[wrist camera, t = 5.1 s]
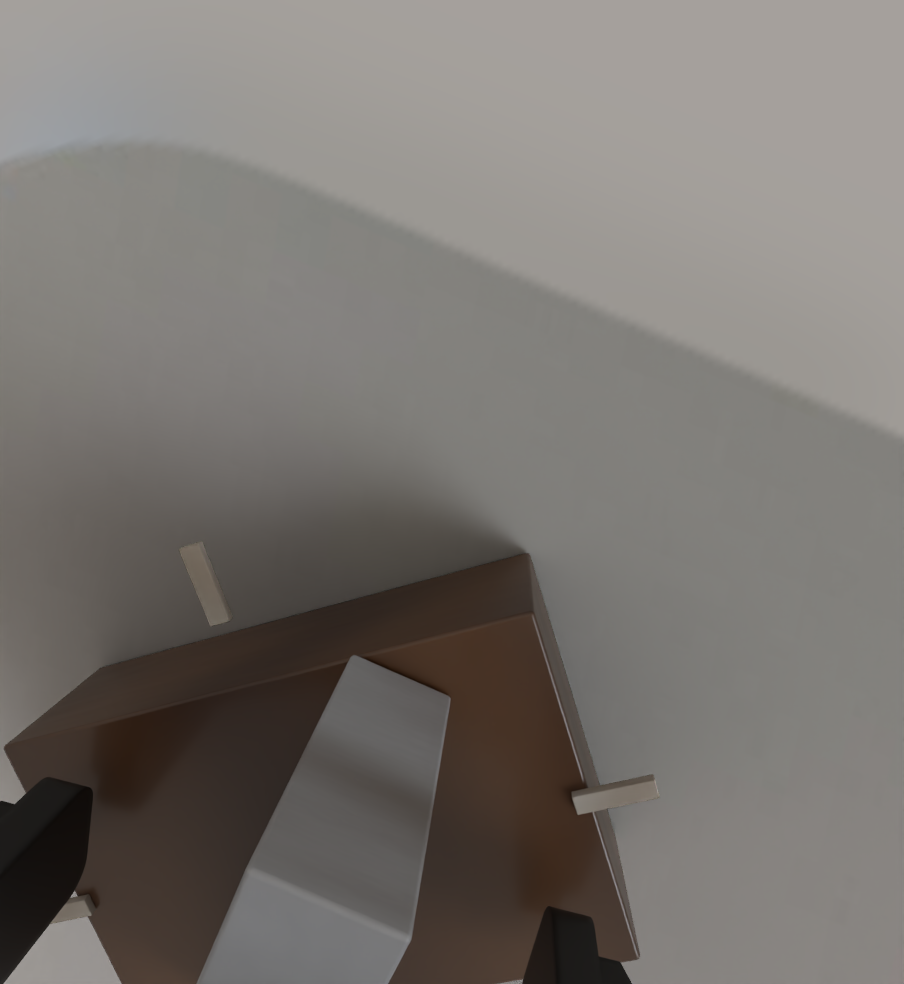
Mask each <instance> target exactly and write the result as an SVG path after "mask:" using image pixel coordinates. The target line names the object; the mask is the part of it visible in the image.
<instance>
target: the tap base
mask: <svg viewBox="0 0 904 984" xmlns="http://www.w3.org/2000/svg"><path fill="white" fill-rule="evenodd" d="M179 552H180V554H181V557H182V559H183V562H184V564H185V566H186V569H187V571H188V574H189V576H190V579H191V581H192V583H193V586H194V588H195V591H196V593H197V595H198V598H199V600H200V603H201V605H202V607H203V610H204V612H205V615H206V617H207V619H208V622H209V624H210V626H215V625H219V624H223V623H226V622H229V621H230V620H231V619H232V618H233V616H232V614H231V611H230V609H229V606H228V604H227V601H226V599H225V597H224V594H223V592H222V589H221V587H220V584H219V582H218V579H217V577H216V574H215V572H214V569H213V567H212V565H211V562H210V560H209V557H208V555H207V552H206V550H205V547H204V545H203V542H202V541H200V542H196V543H193V544H190V545H186V546H183V547H181V548H180V549H179ZM353 655H356V656H359V657H361V658H363V659H365V660H368V661H370V662H372V663H375V664H377V665H379V666H381V667H384V668H386V669H388V670H391V671H393V672H395V673H397V674H400V675H402V676H404V677H407V678H409V679H411V680H413V681H416V682H418V683H420V684H423V685H425V686H427V687H429V688H432V689H434V690H436V691H439V692H441V693H443V694H445V695H448V696H449V697H450V698H451V700H450V707H449V713H448V720H447V726H446V732H445V738H444V744H443V750H442V756H441V762H440V768H439V774H438V780H437V787H436V793H435V799H434V805H433V811H432V817H431V823H430V829H429V835H428V841H427V848H426V854H425V860H424V866H423V872H422V878H421V884H420V890H419V896H418V902H417V909H416V915H415V921H414V927H413V933H412V939H411V942H410V943H409V945H408V947H407V949H406V951H405V953H404V955H403V957H402V959H401V960H400V962H399V964H398V966H397V968H396V970H395V972H394V974H393V976H392V977H391V979H390V981H389V983H388V984H498V983H504V982H509V981H515V980H521V979H524V974H525V971H526V968H527V965H528V961H529V958H530V955H531V952H532V949H533V946H534V942H535V939H536V936H537V933H538V930H539V927H540V923H541V920H542V917H543V914H544V911H545V909H546V908H547V907H548V906H551V907H554V908H558V909H562V910H566V911H570V912H574V913H578V914H582V915H586V916H590V917H591V918H592V919H593V922H594V927H595V933H596V941H597V948H598V955H599V956H600V957H604V958H607V959H611V960H615V961H619V962H626V961H632V960H637V959H639V957H640V953H639V948H638V943H637V938H636V933H635V928H634V924H633V919H632V914H631V909H630V904H629V900H628V895H627V890H626V885H625V880H624V875H623V871H622V866H621V861H620V856H619V851H618V847H617V842H616V837H615V834H614V831H613V827H612V824H611V821H610V818H609V814H608V811H607V809H609V808H614V807H619V806H624V805H628V804H633V803H638V802H643V801H648V800H653V799H657V798H660V796H659V792H658V789H657V785H656V782H655V778H654V775H647V776H643V777H638V778H633V779H629V780H624V781H619V782H614V783H610V784H605V785H599V781H598V778H597V775H596V771H595V768H594V765H593V761H592V758H591V755H590V752H589V748H588V745H587V742H586V738H585V735H584V732H583V728H582V725H581V722H580V719H579V715H578V712H577V709H576V705H575V702H574V699H573V695H572V692H571V689H570V686H569V682H568V679H567V676H566V672H565V669H564V666H563V662H562V659H561V656H560V653H559V649H558V646H557V643H556V639H555V636H554V633H553V629H552V626H551V623H550V620H549V616H548V613H547V610H546V606H545V603H544V600H543V596H542V593H541V590H540V587H539V583H538V580H537V577H536V573H535V570H534V567H533V563H532V560H531V557H530V555H529V554H528V553H525V554H521V555H517V556H514V557H510V558H506V559H502V560H499V561H495V562H491V563H488V564H484V565H480V566H476V567H473V568H469V569H465V570H462V571H458V572H454V573H451V574H447V575H443V576H439V577H436V578H432V579H428V580H425V581H421V582H417V583H413V584H410V585H406V586H402V587H399V588H395V589H391V590H387V591H384V592H380V593H376V594H373V595H369V596H365V597H361V598H358V599H354V600H350V601H347V602H343V603H339V604H336V605H332V606H328V607H324V608H321V609H317V610H313V611H310V612H306V613H302V614H298V615H295V616H291V617H287V618H284V619H280V620H276V621H272V622H269V623H265V624H261V625H258V626H254V627H250V628H246V629H243V630H239V631H235V632H232V633H228V634H224V635H221V636H217V637H213V638H209V639H206V640H202V641H198V642H195V643H191V644H187V645H183V646H180V647H176V648H172V649H169V650H165V651H161V652H157V653H154V654H150V655H146V656H143V657H139V658H135V659H131V660H128V661H124V662H120V663H117V664H113V665H109V666H106V667H102V668H99V669H98V670H97V671H96V672H95V673H93V674H92V675H91V676H90V677H88V678H87V679H86V680H85V681H84V682H82V683H81V684H80V685H79V686H77V687H76V688H75V689H74V690H73V691H71V692H70V693H69V694H68V695H66V696H65V697H64V698H63V699H61V700H60V701H59V702H58V703H57V704H55V705H54V706H53V707H52V708H50V709H49V710H48V711H47V712H46V713H44V714H43V715H42V716H41V717H39V718H38V719H37V720H36V721H35V722H33V723H32V724H31V725H30V726H28V727H27V728H26V729H25V730H23V731H22V732H21V733H20V734H19V735H17V736H16V737H15V738H14V739H12V740H11V741H10V742H9V743H8V744H6V745H5V746H4V751H5V753H6V755H7V757H8V759H9V761H10V763H11V765H12V766H13V768H14V770H15V772H16V774H17V776H18V778H19V780H20V782H21V784H22V786H23V788H24V790H25V792H26V793H27V792H28V791H29V790H30V789H31V788H33V787H34V786H35V785H36V784H37V783H38V782H39V781H40V780H42V779H43V778H46V777H52V778H56V779H60V780H63V781H67V782H71V783H75V784H79V785H83V786H87V787H90V788H91V789H92V791H93V803H92V813H91V823H90V833H89V843H88V853H87V860H86V864H85V868H84V871H83V873H82V876H81V878H80V881H79V883H78V885H77V887H76V889H75V892H76V894H77V897H73V898H69V900H68V901H67V902H66V904H65V905H64V906H63V908H62V909H61V910H60V911H59V913H58V914H57V915H56V917H55V918H54V919H53V920H52V922H51V923H50V924H52V923H57V922H62V921H67V920H72V919H77V918H81V917H86V916H88V918H89V920H90V922H91V924H92V926H93V927H94V929H95V931H96V933H97V935H98V937H99V939H100V941H101V943H102V945H103V947H104V949H105V951H106V953H107V955H108V957H109V959H110V961H111V963H112V965H113V967H114V969H115V971H116V973H117V975H118V977H119V979H120V981H121V983H122V984H197V981H198V979H199V977H200V974H201V972H202V970H203V967H204V965H205V963H206V960H207V958H208V956H209V953H210V951H211V949H212V946H213V944H214V942H215V939H216V937H217V935H218V932H219V930H220V928H221V925H222V923H223V921H224V918H225V916H226V914H227V911H228V909H229V907H230V904H231V902H232V900H233V897H234V895H235V893H236V890H237V888H238V886H239V883H240V881H241V879H242V876H243V874H244V872H245V869H246V867H247V865H248V863H249V861H250V859H251V857H252V855H253V853H254V851H255V849H256V847H257V845H258V843H259V841H260V839H261V837H262V835H263V833H264V831H265V829H266V827H267V825H268V823H269V821H270V819H271V817H272V815H273V813H274V811H275V809H276V807H277V805H278V803H279V801H280V799H281V797H282V795H283V793H284V791H285V789H286V786H287V784H288V782H289V780H290V778H291V776H292V774H293V772H294V770H295V768H296V766H297V764H298V762H299V760H300V758H301V756H302V754H303V752H304V750H305V748H306V746H307V744H308V742H309V740H310V738H311V736H312V734H313V732H314V730H315V728H316V726H317V724H318V722H319V720H320V718H321V716H322V714H323V712H324V710H325V708H326V706H327V704H328V702H329V700H330V698H331V696H332V694H333V691H334V689H335V687H336V685H337V683H338V681H339V679H340V677H341V675H342V673H343V671H344V669H345V667H346V665H347V663H348V661H349V659H350V657H351V656H353Z"/></svg>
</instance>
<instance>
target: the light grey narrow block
mask: <svg viewBox="0 0 904 984" xmlns="http://www.w3.org/2000/svg"><path fill="white" fill-rule="evenodd" d="M450 700H451V698H450V697H449V696H448V695H445V694H443V693H441V692H439V691H436V690H434V689H432V688H429V687H427V686H425V685H423V684H420V683H418V682H416V681H413V680H411V679H409V678H407V677H404V676H402V675H400V674H397V673H395V672H393V671H391V670H388V669H386V668H384V667H381V666H379V665H377V664H375V663H372V662H370V661H368V660H365V659H363V658H361V657H359V656H356V655H353V656H351V657H350V659H349V661H348V663H347V665H346V667H345V669H344V671H343V673H342V675H341V677H340V679H339V681H338V683H337V685H336V687H335V689H334V691H333V694H332V696H331V698H330V700H329V702H328V704H327V706H326V708H325V710H324V712H323V714H322V716H321V718H320V720H319V722H318V724H317V726H316V728H315V730H314V732H313V734H312V736H311V738H310V740H309V742H308V744H307V746H306V748H305V750H304V752H303V754H302V756H301V758H300V760H299V762H298V764H297V766H296V768H295V770H294V772H293V774H292V776H291V778H290V780H289V782H288V784H287V786H286V789H285V791H284V793H283V795H282V797H281V799H280V801H279V803H278V805H277V807H276V809H275V811H274V813H273V815H272V817H271V819H270V821H269V823H268V825H267V827H266V829H265V831H264V833H263V835H262V837H261V839H260V841H259V843H258V845H257V847H256V849H255V851H254V853H253V855H252V857H251V859H250V861H249V863H248V865H247V867H246V869H245V872H244V874H243V876H242V879H241V881H240V883H239V886H238V888H237V890H236V893H235V895H234V897H233V900H232V902H231V904H230V907H229V909H228V911H227V914H226V916H225V918H224V921H223V923H222V925H221V928H220V930H219V932H218V935H217V937H216V939H215V942H214V944H213V946H212V949H211V951H210V953H209V956H208V958H207V960H206V963H205V965H204V967H203V970H202V972H201V974H200V977H199V979H198V981H197V984H388V983H389V981H390V979H391V977H392V976H393V974H394V972H395V970H396V968H397V966H398V964H399V962H400V960H401V959H402V957H403V955H404V953H405V951H406V949H407V947H408V945H409V943H410V942H411V939H412V933H413V927H414V921H415V915H416V909H417V902H418V896H419V890H420V884H421V878H422V872H423V866H424V860H425V854H426V848H427V841H428V835H429V829H430V823H431V817H432V811H433V805H434V799H435V793H436V787H437V780H438V774H439V768H440V762H441V756H442V750H443V744H444V738H445V732H446V726H447V720H448V713H449V707H450Z"/></svg>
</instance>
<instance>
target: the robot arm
mask: <svg viewBox="0 0 904 984" xmlns="http://www.w3.org/2000/svg"><path fill="white" fill-rule="evenodd" d="M92 803H93V791H92V789H91V788H90V787H87V786H83V785H79V784H75V783H71V782H67V781H63V780H60V779H56V778H52V777H46V778H43V779H42V780H40V781H39V782H38V783H37V784H36V785H35V786H34V787H33V788H31V789H30V790H29V791H28V792H27V793H26V794H25V795H24V796H23V797H22V798H21V799H20V800H19V801H18V802H17V803H16V804H11V803H8V802H4V801H0V984H3V983H4V982H5V981H6V979H7V978H8V977H9V976H10V974H11V973H12V972H13V970H14V969H15V968H16V967H17V965H18V964H19V963H20V961H21V960H22V959H23V958H24V956H25V955H26V954H27V952H28V951H29V950H30V949H31V947H32V946H33V945H34V944H35V942H36V941H37V940H38V938H39V937H40V936H41V935H42V933H43V932H44V931H45V929H46V928H47V927H48V926H49V924H50V923H51V922H52V920H53V919H54V918H55V917H56V915H57V914H58V913H59V911H60V910H61V909H62V908H63V906H64V905H65V904H66V902H67V901H68V900H69V898H70V897H71V895H72V894H73V892H74V890H75V889H76V887H77V885H78V883H79V881H80V878H81V876H82V873H83V871H84V868H85V864H86V860H87V853H88V843H89V833H90V823H91V813H92ZM522 984H632V983H631V981H630V979H629V977H628V976H627V974H626V972H625V970H624V968H623V966H622V965H621V963H620V962H619V961H615V960H611V959H607V958H604V957H600V956H599V955H598V948H597V941H596V933H595V927H594V922H593V919H592V918H591V917H590V916H586V915H582V914H578V913H574V912H570V911H566V910H562V909H558V908H554V907H551V906H548V907H547V908H546V909H545V911H544V914H543V917H542V920H541V923H540V927H539V930H538V933H537V936H536V939H535V942H534V946H533V949H532V952H531V955H530V958H529V961H528V965H527V968H526V971H525V974H524V979H523V983H522Z"/></svg>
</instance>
